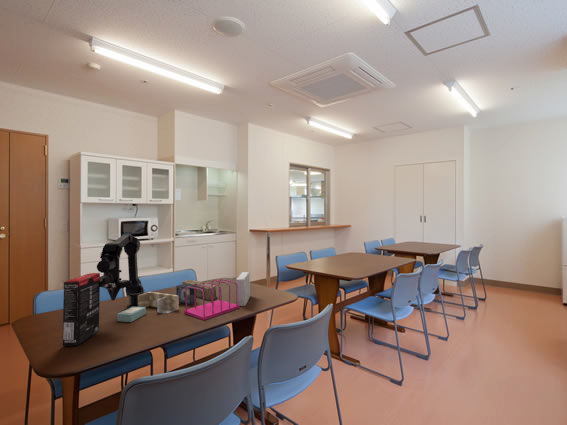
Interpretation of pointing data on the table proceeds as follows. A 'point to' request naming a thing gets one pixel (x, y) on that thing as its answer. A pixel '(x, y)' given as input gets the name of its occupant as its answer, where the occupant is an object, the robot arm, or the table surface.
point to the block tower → (206, 290)
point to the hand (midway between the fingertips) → (113, 300)
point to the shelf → (152, 298)
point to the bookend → (163, 306)
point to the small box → (181, 292)
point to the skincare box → (243, 288)
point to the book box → (131, 314)
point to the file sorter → (213, 307)
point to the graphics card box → (81, 308)
